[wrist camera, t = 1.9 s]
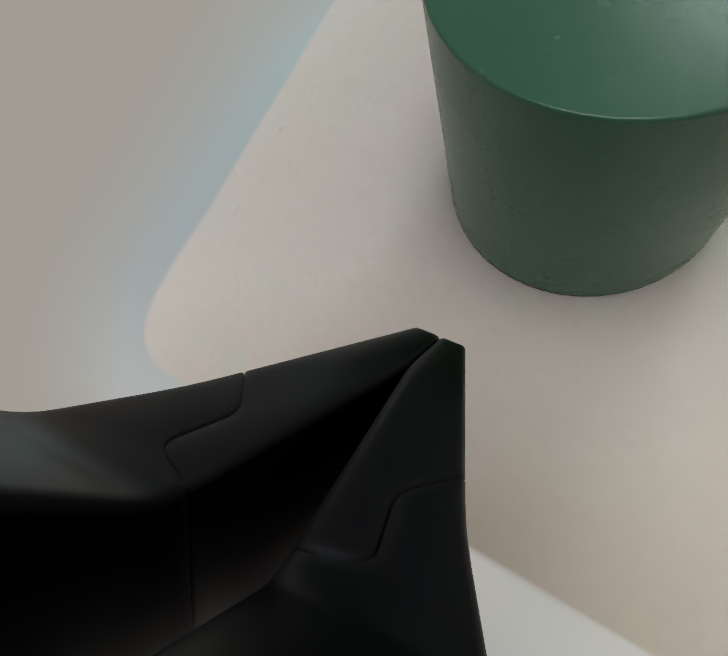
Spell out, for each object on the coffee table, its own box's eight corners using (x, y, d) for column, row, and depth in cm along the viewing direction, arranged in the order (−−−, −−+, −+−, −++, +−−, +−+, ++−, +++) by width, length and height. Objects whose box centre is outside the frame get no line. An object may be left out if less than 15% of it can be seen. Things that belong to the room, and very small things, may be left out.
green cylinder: (664, 342, 19) (822, 190, 10) (407, 236, 22) (343, 48, 13) (773, 106, 21) (999, -220, 11) (517, 40, 24) (529, -254, 15)
